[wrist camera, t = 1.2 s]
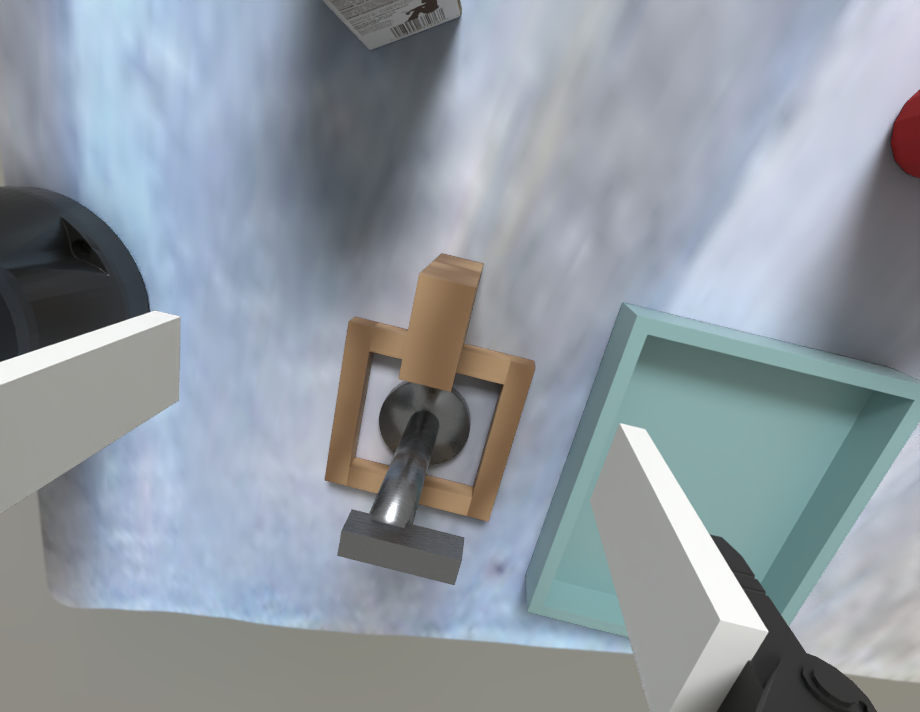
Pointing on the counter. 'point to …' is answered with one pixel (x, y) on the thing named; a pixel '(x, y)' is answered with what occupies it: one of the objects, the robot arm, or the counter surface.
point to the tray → (726, 454)
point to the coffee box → (392, 17)
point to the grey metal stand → (411, 485)
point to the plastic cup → (908, 137)
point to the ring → (430, 384)
